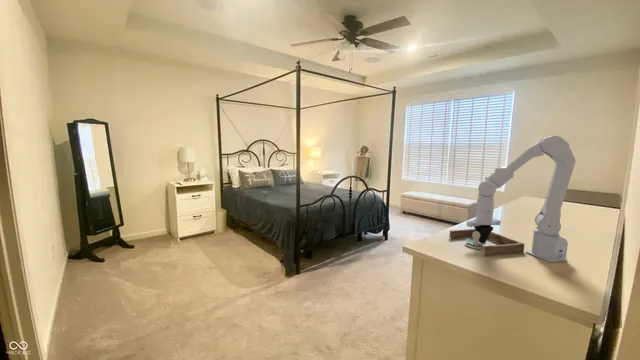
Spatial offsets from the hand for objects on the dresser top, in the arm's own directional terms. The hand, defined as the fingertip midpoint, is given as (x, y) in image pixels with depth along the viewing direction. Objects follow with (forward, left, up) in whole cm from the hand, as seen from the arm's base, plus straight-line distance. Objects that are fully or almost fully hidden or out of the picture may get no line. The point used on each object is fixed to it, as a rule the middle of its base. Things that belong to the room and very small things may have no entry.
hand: (482, 242), depth 112 cm
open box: (0, -1, -1) cm, 1 cm away
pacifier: (-1, +4, -1) cm, 5 cm away
